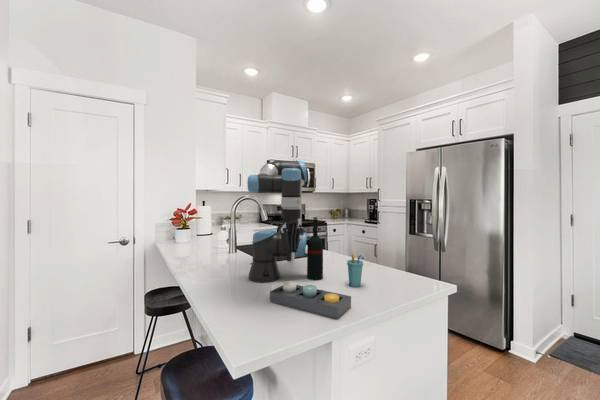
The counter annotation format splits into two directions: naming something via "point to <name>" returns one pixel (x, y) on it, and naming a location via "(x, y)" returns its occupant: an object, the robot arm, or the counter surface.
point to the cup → (355, 271)
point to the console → (311, 302)
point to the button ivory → (289, 286)
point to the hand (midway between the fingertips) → (290, 268)
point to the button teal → (310, 291)
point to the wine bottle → (315, 254)
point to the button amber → (331, 298)
